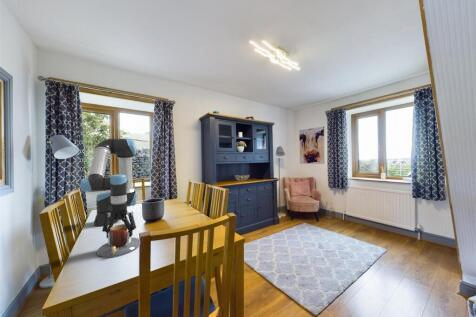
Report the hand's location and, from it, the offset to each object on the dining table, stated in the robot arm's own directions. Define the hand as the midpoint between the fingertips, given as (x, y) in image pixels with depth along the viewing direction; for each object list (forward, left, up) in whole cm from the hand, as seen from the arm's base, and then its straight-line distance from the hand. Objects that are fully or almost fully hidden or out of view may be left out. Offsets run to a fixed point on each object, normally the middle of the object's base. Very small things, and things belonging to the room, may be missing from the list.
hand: (119, 242), depth 102 cm
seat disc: (0, 0, -3) cm, 3 cm away
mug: (+1, +1, -2) cm, 2 cm away
